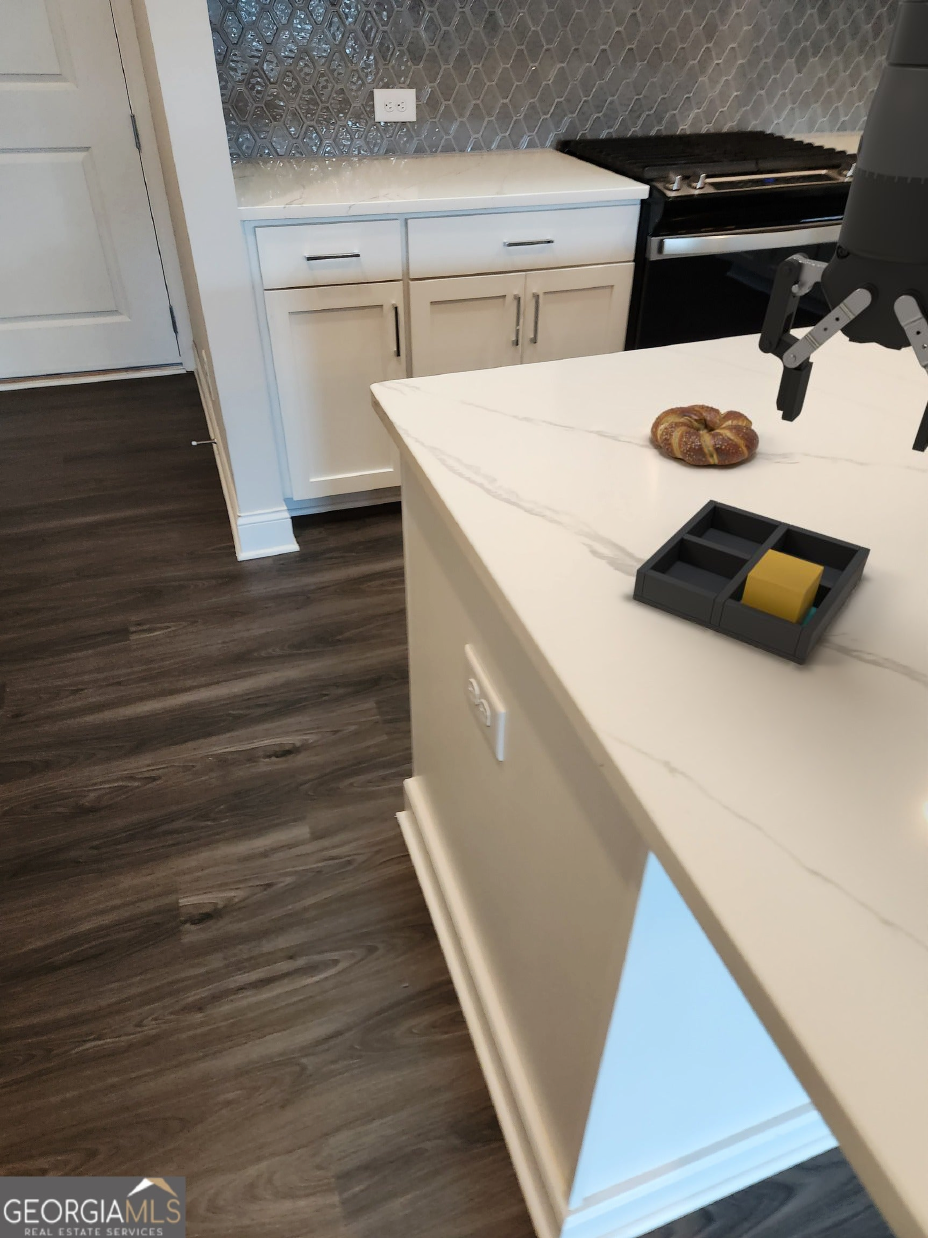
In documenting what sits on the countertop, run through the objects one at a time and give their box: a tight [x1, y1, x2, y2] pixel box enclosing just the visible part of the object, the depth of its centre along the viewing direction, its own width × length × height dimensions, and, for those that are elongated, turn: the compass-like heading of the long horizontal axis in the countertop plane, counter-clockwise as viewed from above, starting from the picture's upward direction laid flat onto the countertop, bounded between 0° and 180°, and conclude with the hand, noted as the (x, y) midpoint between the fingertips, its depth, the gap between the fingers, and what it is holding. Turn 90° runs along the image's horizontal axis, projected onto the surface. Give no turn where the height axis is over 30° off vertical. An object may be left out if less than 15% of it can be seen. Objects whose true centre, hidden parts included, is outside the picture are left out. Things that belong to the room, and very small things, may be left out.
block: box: [741, 549, 824, 625], centre depth 67 cm, size 4×4×4 cm
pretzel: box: [650, 404, 760, 466], centre depth 93 cm, size 12×11×4 cm
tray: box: [632, 499, 871, 666], centre depth 71 cm, size 15×15×3 cm
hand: (852, 431), depth 56 cm, fingers open, 8 cm apart
